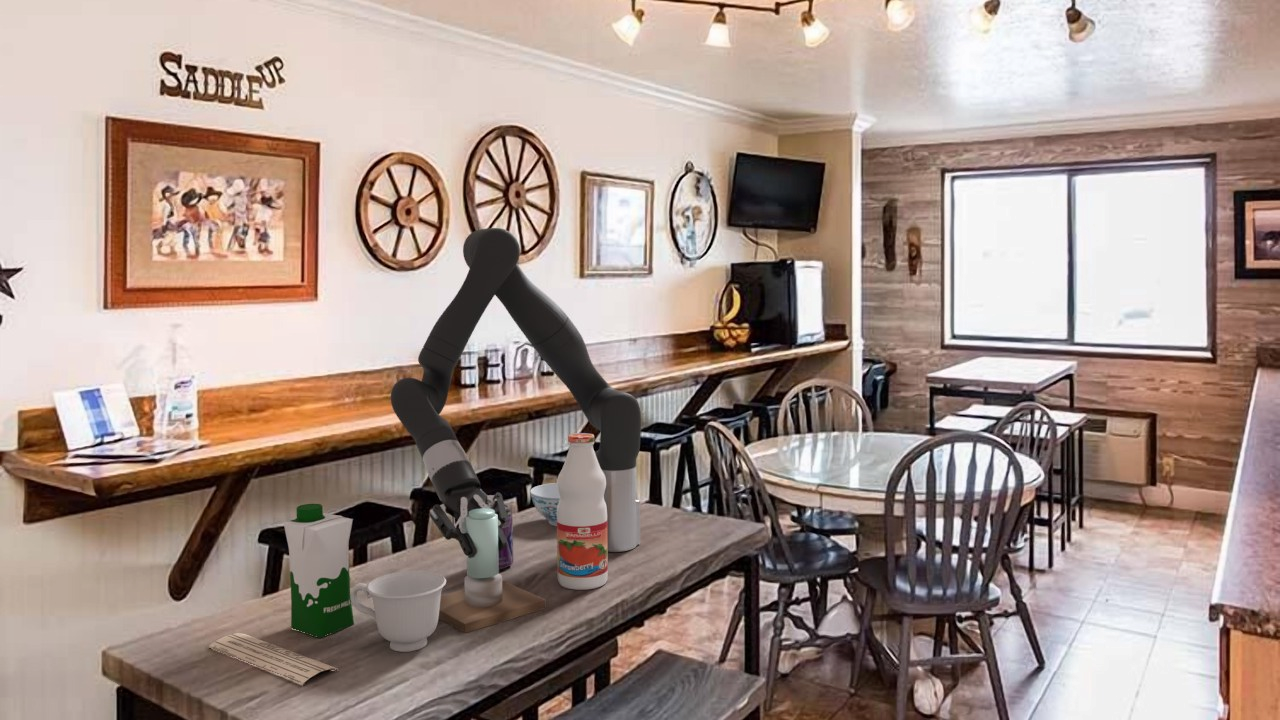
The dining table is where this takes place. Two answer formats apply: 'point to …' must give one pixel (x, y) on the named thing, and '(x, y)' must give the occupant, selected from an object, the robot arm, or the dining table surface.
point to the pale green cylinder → (483, 543)
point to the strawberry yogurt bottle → (582, 517)
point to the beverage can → (507, 552)
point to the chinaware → (546, 501)
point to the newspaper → (270, 657)
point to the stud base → (487, 614)
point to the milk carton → (319, 571)
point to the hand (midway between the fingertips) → (488, 551)
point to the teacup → (403, 606)
